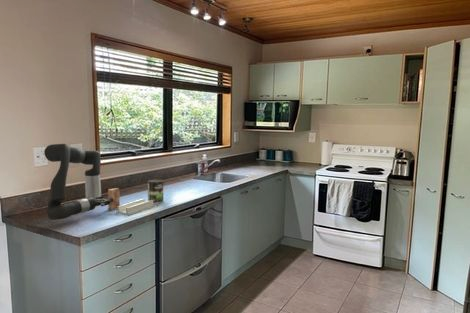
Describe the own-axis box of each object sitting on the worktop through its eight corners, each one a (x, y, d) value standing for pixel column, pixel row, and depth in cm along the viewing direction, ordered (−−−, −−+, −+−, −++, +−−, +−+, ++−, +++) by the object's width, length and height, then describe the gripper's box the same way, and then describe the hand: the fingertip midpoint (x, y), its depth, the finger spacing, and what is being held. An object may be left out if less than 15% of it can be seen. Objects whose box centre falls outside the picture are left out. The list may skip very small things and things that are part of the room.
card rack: (129, 215, 196) (128, 208, 195) (116, 212, 200) (116, 206, 200) (154, 206, 215) (154, 200, 215) (142, 204, 220) (142, 198, 219)
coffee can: (166, 201, 227) (166, 180, 226) (153, 204, 220) (153, 182, 218) (157, 198, 234) (157, 178, 233) (144, 201, 227) (144, 180, 225)
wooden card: (112, 209, 206) (111, 190, 205) (108, 209, 208) (108, 189, 206) (119, 207, 212) (119, 188, 210) (116, 206, 213) (115, 187, 212)
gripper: (93, 200, 187) (116, 194, 201) (75, 196, 193) (99, 191, 207) (93, 213, 188) (116, 206, 202) (76, 209, 194) (99, 203, 208)
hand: (107, 198), depth 205 cm, fingers open, 8 cm apart
